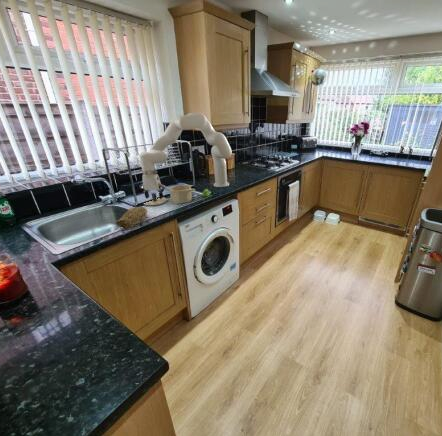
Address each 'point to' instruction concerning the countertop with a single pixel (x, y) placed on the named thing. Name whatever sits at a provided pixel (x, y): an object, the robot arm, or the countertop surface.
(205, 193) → the grapes
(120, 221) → the brown hedgehog
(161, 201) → the lid
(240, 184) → the countertop surface
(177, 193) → the pot
